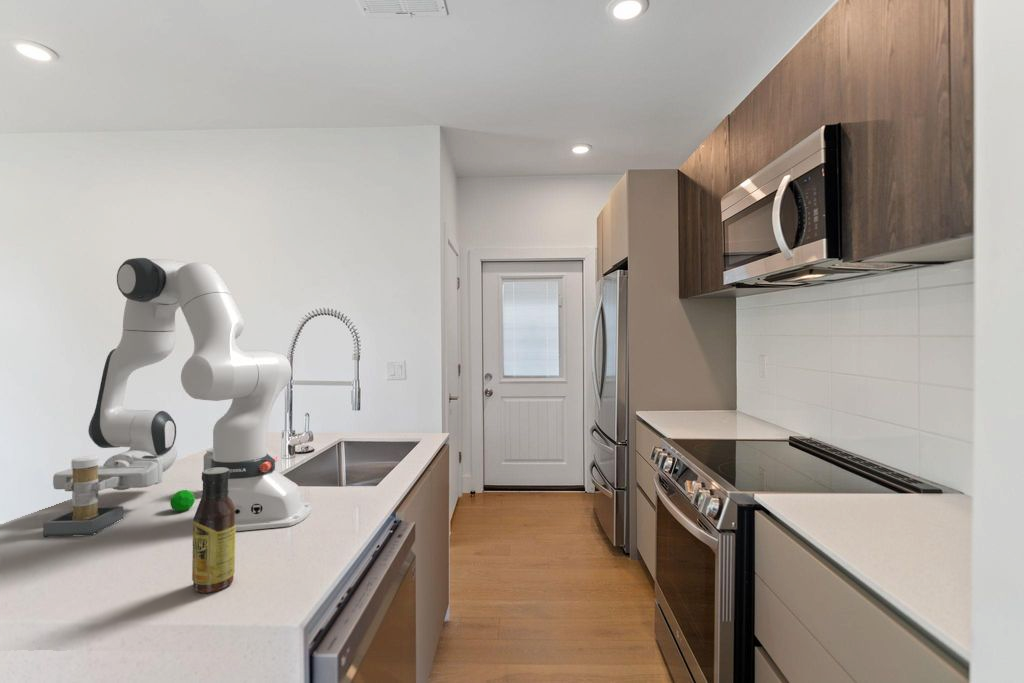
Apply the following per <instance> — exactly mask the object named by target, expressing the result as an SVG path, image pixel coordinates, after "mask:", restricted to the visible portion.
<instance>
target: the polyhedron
mask: <svg viewBox="0 0 1024 683" xmlns="http://www.w3.org/2000/svg"><path fill="white" fill-rule="evenodd" d="M169 501H170V507H171V509H172V510H174V511H175V512H178V511H183V512H185V510H186V511H187V510H189V509H191V508H192V507H193V505H194V504H195V501H196V498H195V495H194V493H193V492H192V491H191V490H188V489H181V490H178V491H176V492H175V493H173V495H172V496H171V499H170V500H169Z"/></svg>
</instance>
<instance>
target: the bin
mask: <svg viewBox="0 0 1024 683" xmlns="http://www.w3.org/2000/svg"><path fill="white" fill-rule="evenodd" d="M98 513H99V515H98V516H97V517H96V518H93V519H90V520H80V521H73V520H72V517H73V509H71V510H69V511H66V512H64V513H62V514H60V515H57V516H55V517H52V518H51V519H49V520H46V521H44V522H43V524H42V535H43V536H60V537H74V536H73V535H92V536H94V535H95V534H94V533H96V534H98V533H99V532H98V531H100V530H102V529H104V528H106V527H108V526H109V527H111V526H113V525H115V524H116V523H115V522H117V521H119V520H121V519H123V520H124V506H123V505H121V506H119V505H117V506H98ZM121 521H122V520H121ZM119 522H120V521H119ZM114 523H115V524H114ZM117 523H118V522H117ZM112 524H113V525H112ZM110 525H111V526H110ZM109 527H108V528H109ZM106 529H107V528H106ZM104 530H105V529H104ZM102 531H103V530H102ZM97 532H98V533H97ZM100 532H101V531H100ZM93 534H94V535H93ZM43 536H42V537H43Z"/></svg>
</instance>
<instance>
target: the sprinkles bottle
mask: <svg viewBox="0 0 1024 683" xmlns="http://www.w3.org/2000/svg"><path fill="white" fill-rule="evenodd" d="M70 464H71V467H70V469H72V468H73V469H72V470H73V491H71V494H72V495H71V496H72V497H71V498H72V499H71V500H72V501H71V502H72V510H73V517H72V520H73V521H80V520H90V519H93V518H96V517H97V516H98V515H99V513H98V507H99V491H93V483H95V482H97V481H98V466H99V464H100V460H99V456H97V455H85V456H79V457H78V456H77V457H74V458H72V459H71V463H70Z"/></svg>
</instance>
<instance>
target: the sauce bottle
mask: <svg viewBox="0 0 1024 683" xmlns="http://www.w3.org/2000/svg"><path fill="white" fill-rule="evenodd" d="M229 476H230V471H229V469H228V468H225V467H216V468H210V469H206V470H204V469H203V471H202V472H201V481H202V493H201V497H200V501H199V504H198V506H197V508H196V511H195V513H194V517H193V519H192V520H193V521H192V522H193V523H192V524H193V525H192V564H191V565H192V570H191V571H192V572H191V574H192V576H191V579H192V580H191V581H192V583H193V585H192V586H193V587H192V588H193V590H194V591H195V592H198V593H201V594H208V593H213V592H217V591H220V590H223V589H225V588H227V587H229V586H230V585H232V583H233V581H234V575H235V570H236V569H235V568H236V567H235V566H236V565H235V564H236V562H235V561H236V531H235V529H236V522H235V506H234V504H233V502H232V500H231V499H230V498H229V496H228V493H229V491H228V479H229Z"/></svg>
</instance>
